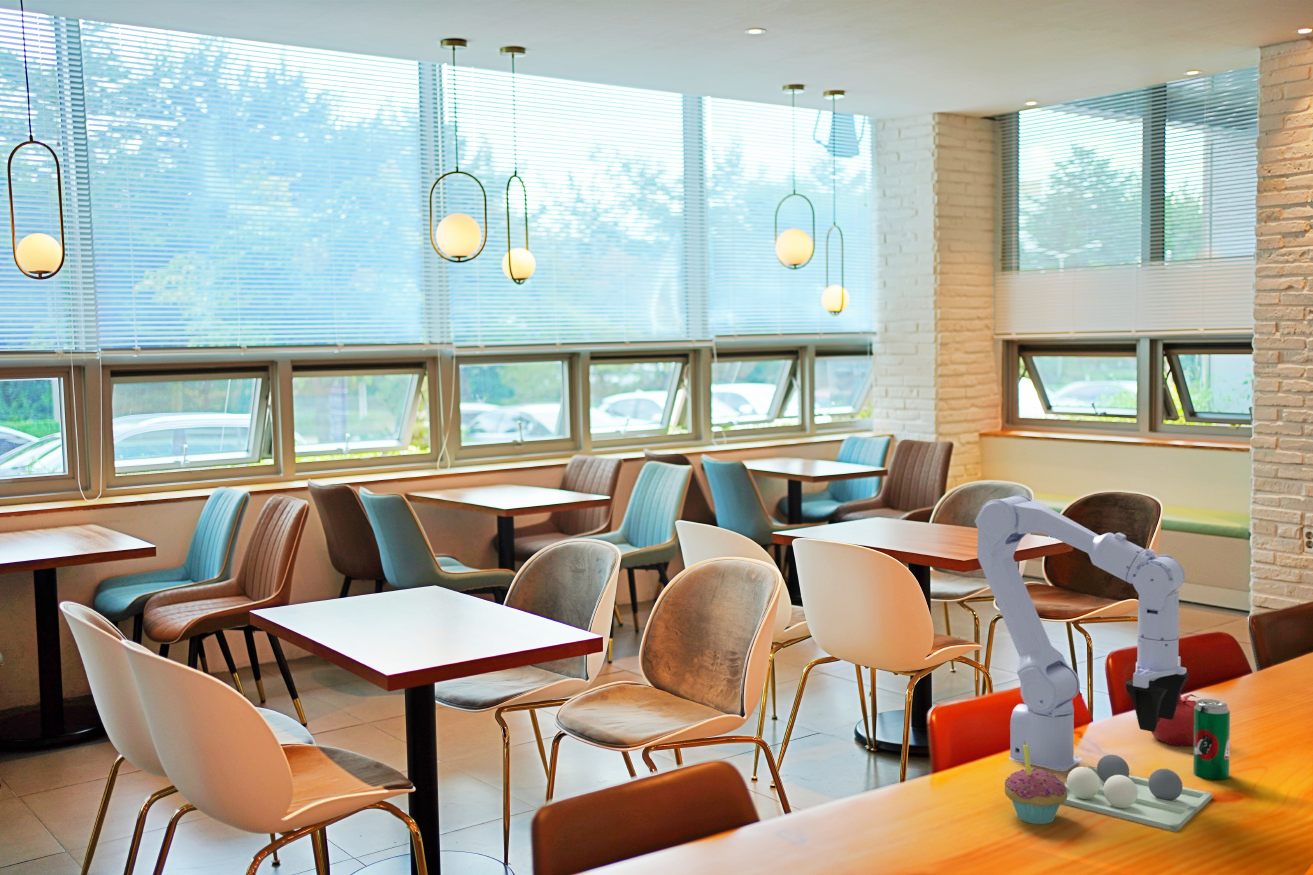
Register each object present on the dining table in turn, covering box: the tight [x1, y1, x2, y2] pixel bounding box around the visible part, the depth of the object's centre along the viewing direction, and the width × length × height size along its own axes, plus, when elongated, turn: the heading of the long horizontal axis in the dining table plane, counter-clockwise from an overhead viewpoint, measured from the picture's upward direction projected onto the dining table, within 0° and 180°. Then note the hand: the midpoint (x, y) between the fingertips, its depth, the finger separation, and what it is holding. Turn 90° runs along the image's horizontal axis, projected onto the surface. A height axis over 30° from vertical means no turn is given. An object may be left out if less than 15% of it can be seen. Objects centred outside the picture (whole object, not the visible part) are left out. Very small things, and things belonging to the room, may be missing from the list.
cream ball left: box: [1066, 766, 1100, 799], centre depth 167 cm, size 5×5×5 cm
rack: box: [1061, 766, 1213, 833], centre depth 167 cm, size 18×16×1 cm
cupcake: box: [1004, 740, 1067, 825], centre depth 161 cm, size 9×8×12 cm
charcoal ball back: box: [1096, 754, 1130, 783], centre depth 172 cm, size 5×5×5 cm
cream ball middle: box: [1103, 775, 1138, 808], centre depth 164 cm, size 5×5×5 cm
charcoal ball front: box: [1148, 768, 1184, 801], centre depth 166 cm, size 5×5×5 cm
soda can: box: [1192, 698, 1231, 782], centre depth 176 cm, size 5×5×12 cm
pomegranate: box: [1151, 692, 1201, 747], centre depth 194 cm, size 10×10×9 cm
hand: (1156, 723), depth 172 cm, fingers open, 7 cm apart
